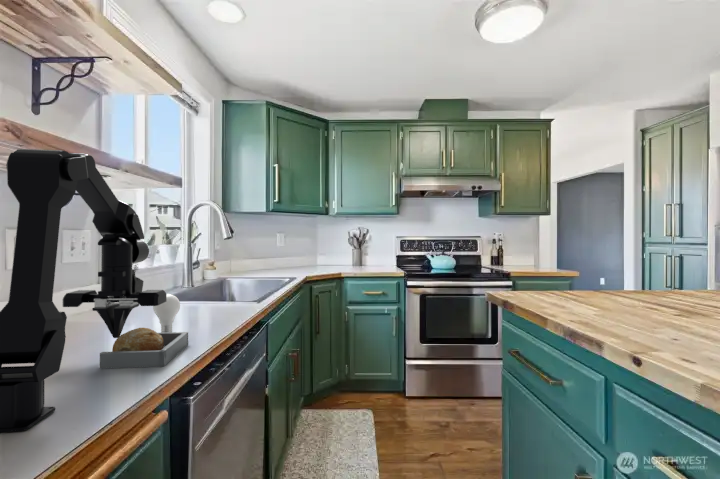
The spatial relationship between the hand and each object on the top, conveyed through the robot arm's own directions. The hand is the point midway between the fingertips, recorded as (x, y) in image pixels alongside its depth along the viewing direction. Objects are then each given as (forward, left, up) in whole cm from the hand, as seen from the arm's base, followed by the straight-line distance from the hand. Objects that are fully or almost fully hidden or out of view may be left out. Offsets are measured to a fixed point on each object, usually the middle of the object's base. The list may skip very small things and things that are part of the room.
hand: (116, 337), depth 84 cm
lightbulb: (+17, -5, -4) cm, 18 cm away
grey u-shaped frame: (0, -7, -4) cm, 8 cm away
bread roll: (0, -5, -4) cm, 6 cm away
